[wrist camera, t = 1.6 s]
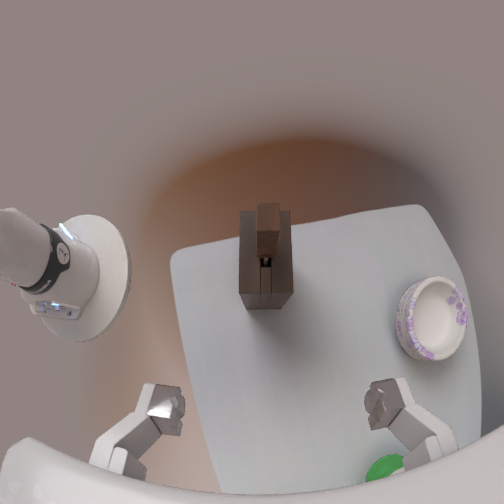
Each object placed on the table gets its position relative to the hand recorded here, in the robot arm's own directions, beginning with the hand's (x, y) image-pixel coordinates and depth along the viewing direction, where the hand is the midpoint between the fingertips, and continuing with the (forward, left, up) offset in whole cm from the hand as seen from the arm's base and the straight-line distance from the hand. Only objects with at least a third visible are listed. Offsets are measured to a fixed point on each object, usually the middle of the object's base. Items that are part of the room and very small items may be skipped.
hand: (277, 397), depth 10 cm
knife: (+3, +12, -26) cm, 29 cm away
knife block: (+3, +12, -36) cm, 38 cm away
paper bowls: (+31, -4, -37) cm, 48 cm away
